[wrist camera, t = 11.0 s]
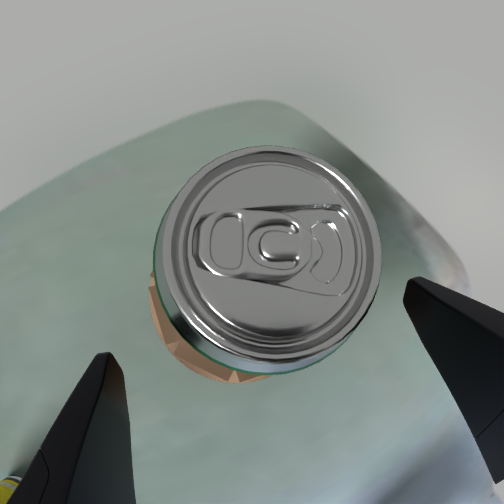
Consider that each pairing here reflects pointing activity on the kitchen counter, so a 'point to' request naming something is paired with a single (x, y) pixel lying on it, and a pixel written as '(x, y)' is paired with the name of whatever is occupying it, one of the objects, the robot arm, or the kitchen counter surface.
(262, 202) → the soda can
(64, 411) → the robot arm
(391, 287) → the kitchen counter surface
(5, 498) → the supplement bottle
